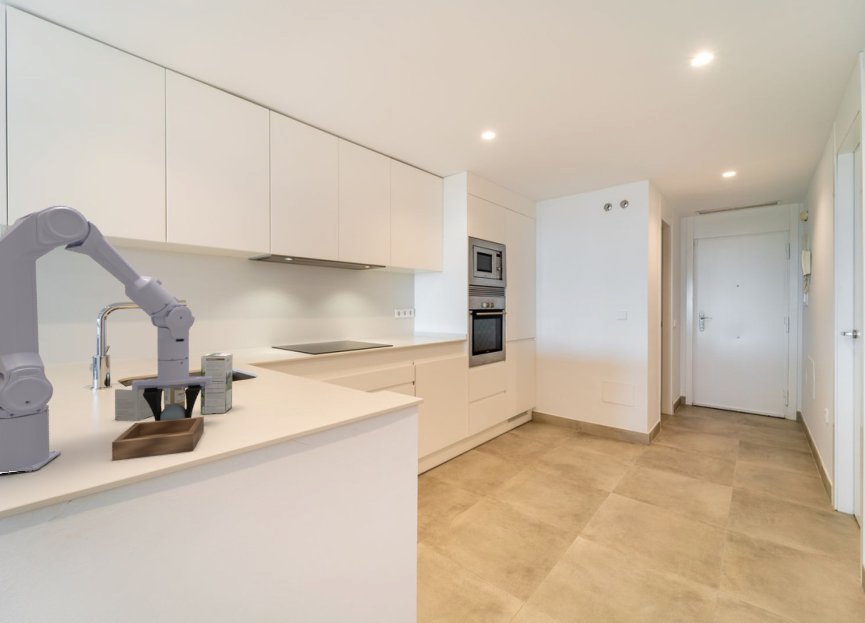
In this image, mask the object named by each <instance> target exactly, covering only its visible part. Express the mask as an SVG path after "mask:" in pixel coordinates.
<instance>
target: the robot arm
mask: <svg viewBox="0 0 865 623" xmlns="http://www.w3.org/2000/svg"><path fill="white" fill-rule="evenodd" d="M62 246H65V247H64V251H65V250H66V251H70V252H72V253H78V254H83V255H86V256H88V257H90V259H92V260H93V261H94V262H96V263H97V264H99V265H100V266H101V267H102V268H103V269H104V270H105V271H106V272H108V273H109V274H111V275H112V276H113V277H115V279H117V280H118V281H119V282H120V283H122V285H124V293H125V296H126V297H127V298H129V300H131V301H132V302H133V303H134V304H135V305H137V306H138V307H139V308H140V309H141V310H142V311H143V312H144V313H146V314H147V315H148V316H149V317H150V321H151V324H152V325H153V326H154V327H157V332H156V333H157V343H156V344H157V347H156V348H157V378H150V379H140V380H138V379H137V380H133V381H132V382H131V385H132V391H139V390H144V393H143V397H144V398H145V400H146V401H147V403H148V404H149V406H150V408H151V410H152V412H153V418H154V421H160V414H161V412H162V411H163V408H162V401H163V400H162V399H163V391H164V388H179V387H185V409H186V418H193V417H192V415H193V410H194V407H195V405H196V400H197V398H198V396H199V394H200V393H201V388H202V386H211V385H212V376H201V375H200V376H190V361H189V360H190V349H189V348H190V347H189V346H190V342H189V341H190V338H189V337H190V329H191V327H192V326H193V325H194V323H195V319H196V318H195V316H193V313H192V311H191V309H189V307H187V306H185V305H183V304H179V303H178V302H179V299H178V298H177V297H176V296H172V294H170V293H169V292H168V291H167V290H166V289H165V288H163V286H162V284H163V282H162V281H161V280H160V279H159V278H155V279H154V277H152V276H149V275H141V274H140V272H138V271H137V269H135V267H133V265H132V264H131V263H130V262H129V261H128V260H127V259H126V258H125V257H124V256H123V255H122V254H121V253H120V252H119V250H117V249H116V248H115V247H114V246H113V245H112V244H111V243H110V241H108V239H107V238H106V237H105V236H104V235H103V234H102V232H101V230H100V229H99V228H98V227H97V225H95V224H94V223H92V222H91V221H89V220H87V219H86V217H85V216H84V214H83V213H82V212H80V211H79V210H77V209H75V208H73V207H72V206H68V205H61V204H57V205H56V204H55V205H52V206H48V207H46V208H44V209H41V210H37V211H34V212H31V213H29V214H26V215H24V216H21V217H18V218H17V219H15V221H14V222H13V224H12V225H11V226H10V227H9V228H8V229H6V231H4V232H3V234H2V235H0V472H9V471H25V472H33V471H37V470H39V469H40V468H42V467H44V466H45V465H46V464H48V463H49V462H51V461H52V460H54V459H55V458H56V457H58V456H59V455H60V454H61V453H62V451H61V450H56V451H55V450H54V451H50V412H49V411H50V409H49V404H48V403H49V402H50V400H51V399H52V397H53V395H54V387H53V385H52V383H51V381H50V380H49V379H48V378H47V376H46V373H45V365H44V362H43V359H42V357H41V356H40V353H39V351H40V350H39V349H40V347H39V345H40V344H39V321H38V320H39V319H38V293H37V292H38V291H37V265H36V264H37V263H36V261H37V260H38V259H41V258H42V257H43V256H45V255H47V254H48V253H50V252H52V251H54V250H55V248H59V247H62ZM178 384H184V385H178ZM164 385H168V386H164ZM32 470H33V471H32Z"/></svg>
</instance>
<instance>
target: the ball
mask: <svg viewBox="0 0 865 623" xmlns="http://www.w3.org/2000/svg"><path fill="white" fill-rule="evenodd" d="M163 408H164V407H163ZM163 408H162V412H161V414H160V421H162V420H173V419H184V418H186V407H185V408H184V407H183V406H182V405H179V404H173V405H169V406H167V407H166V408H164V409H163Z"/></svg>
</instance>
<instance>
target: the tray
mask: <svg viewBox="0 0 865 623" xmlns="http://www.w3.org/2000/svg"><path fill="white" fill-rule="evenodd" d="M204 420H205V417H204V416H196V417H191V418H184V419H173V420H162V421H155V420H153V421H152V420H151V421H143V422H135V423H133V424H132V425H131V426H130V427H128V429H126V430H125V431H124V432H122V433H121V434H120V435H119V436H118V437H117V438H116V439H114V440H113V441H112V443H111V451H112V452H111V454H112V455H111V461H118V460H125V459H135V458H143V457H151V456H161V455H167V454H179V453H185V452H193V451H194V450H195V447H197V444H198V442H199V440H200V439H201V437H202V435H203V433H204V431H205V428H204V424H205V422H204Z"/></svg>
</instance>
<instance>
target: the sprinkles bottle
mask: <svg viewBox="0 0 865 623" xmlns="http://www.w3.org/2000/svg"><path fill="white" fill-rule="evenodd" d="M178 385H184V384H178ZM163 386H168V385H163ZM185 390H186V387H179V388H164V389H163V408H166V407H167V406H169V405H173V404H179V405H182V406H183V407H184V408H185V409H186V395H185Z"/></svg>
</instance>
